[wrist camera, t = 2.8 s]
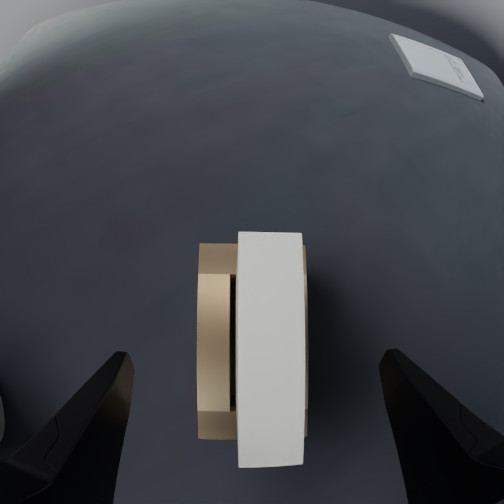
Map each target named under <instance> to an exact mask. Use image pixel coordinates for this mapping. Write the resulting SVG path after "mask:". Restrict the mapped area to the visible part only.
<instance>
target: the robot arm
mask: <svg viewBox="0 0 504 504" xmlns="http://www.w3.org/2000/svg"><path fill="white" fill-rule="evenodd" d="M379 372H380V377H381V383H382V389H383V395H384V400H385V405H386V409H387V413H388V417H389V420H390V424H391V428H392V432H393V436H394V439H395V444H396V448H397V452H398V456H399V460H400V465H401V469H402V473H403V478H404V483H405V488H406V493H407V499H408V504H504V436H503V435H502V434H500V433H499V432H497V431H496V430H494V429H493V428H492V427H490V426H489V425H487V424H486V423H485V422H483V421H482V420H481V419H479V418H478V417H477V416H475V415H474V414H473V413H472V412H471V411H469V410H468V409H467V408H466V407H465V406H464V405H462V404H460V402H459V401H458V400H457V399H456V398H454V397H453V396H452V395H451V394H450V393H449V392H447V391H446V390H445V389H444V388H443V387H442V386H441V385H439V384H438V383H437V382H436V381H435V380H434V379H432V378H431V377H430V376H429V375H428V374H427V373H425V372H424V371H423V370H422V369H421V368H420V367H418V366H417V365H416V364H415V363H414V362H413V361H411V360H410V359H409V358H408V357H407V356H406V355H404V354H403V353H402V352H401V351H400V350H398V349H388V350H387V351H386V352H385V354H384V356H383V358H382V360H381V362H380V364H379ZM133 378H134V367H133V364H132V361H131V359H130V356H129V354H128V353H127V352H120V351H117V352H115V353H114V354H113V355H112V356H111V357H110V358H109V359H108V360H107V361H106V362H105V364H104V365H103V366H102V367H101V368H100V369H99V370H98V371H97V372H96V373H95V374H94V375H93V376H92V377H91V378H90V379H89V380H88V381H87V382H86V383H85V384H84V385H83V386H82V387H81V388H80V389H79V390H78V391H77V392H76V393H75V394H74V396H73V397H72V398H71V399H70V400H69V401H68V402H67V403H66V404H65V405H64V406H63V407H62V408H61V409H60V410H59V411H58V412H57V413H56V416H54V417H53V418H52V419H51V420H50V421H49V422H48V423H47V424H46V425H45V426H44V427H43V428H42V429H41V430H40V431H39V432H38V433H37V434H35V435H34V436H33V437H32V438H31V439H30V440H29V441H27V442H26V443H25V444H24V445H23V446H22V447H20V448H19V449H18V450H17V451H16V452H14V453H13V454H12V455H11V456H9V457H8V458H6V459H4V460H2V461H0V504H113V499H114V492H115V486H116V480H117V474H118V468H119V462H120V457H121V451H122V446H123V441H124V436H125V431H126V427H127V422H128V417H129V412H130V405H131V395H132V386H133Z"/></svg>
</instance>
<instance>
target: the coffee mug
mask: <svg viewBox="0 0 504 504" xmlns="http://www.w3.org/2000/svg"><path fill="white" fill-rule="evenodd" d="M4 428H5V417H4V409H3V403H2V399H1V395H0V442H1V440H2V438H3V435H4Z"/></svg>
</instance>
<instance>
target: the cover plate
mask: <svg viewBox="0 0 504 504" xmlns="http://www.w3.org/2000/svg"><path fill="white" fill-rule="evenodd" d="M235 378H236V416H237V441H238V463H239V468H253V467H276V466H289V465H300V464H303V451H304V423H305V301H304V271H303V248H302V233H277V232H239V233H238V253H237V273H236V318H235Z"/></svg>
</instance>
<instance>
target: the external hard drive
mask: <svg viewBox="0 0 504 504" xmlns="http://www.w3.org/2000/svg"><path fill="white" fill-rule="evenodd" d="M389 39H390V40H391V42H392V44H393V45H394V47H395V49H396V50H397V52H398V54H399V56H400V57H401V59H402V61H403V63H404V65H405V67H406V69H407V70H408V72H409V74H410V76H411V77H414V78H418V79H421V80H424V81H428V82H431V83H434V84H437V85H440V86H443V87H446V88H449V89H451V90H454V91H457V92H459V93H462V94H465V95H467V96H470V97H472V98H475V99H477V100H479V101H481V100H482V99H483V98H484V97H483V94H482V92H481V90H480V89H479V87H478V85H477V84H476V82H475V80H474V79H473V77H472V75H471V74H470V72H469V71H468V69H467V68H466V66H465V64H464V63H463V61H462V60H461V59H459V58H457V57H455V56H452V55H450V54H448V53H445V52H443V51H440V50H438V49H435V48H433V47H430V46H428V45H425V44H422V43H419V42H417V41H414V40H411V39H408V38H405V37H401V36H398V35H395V34H390V36H389Z"/></svg>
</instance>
